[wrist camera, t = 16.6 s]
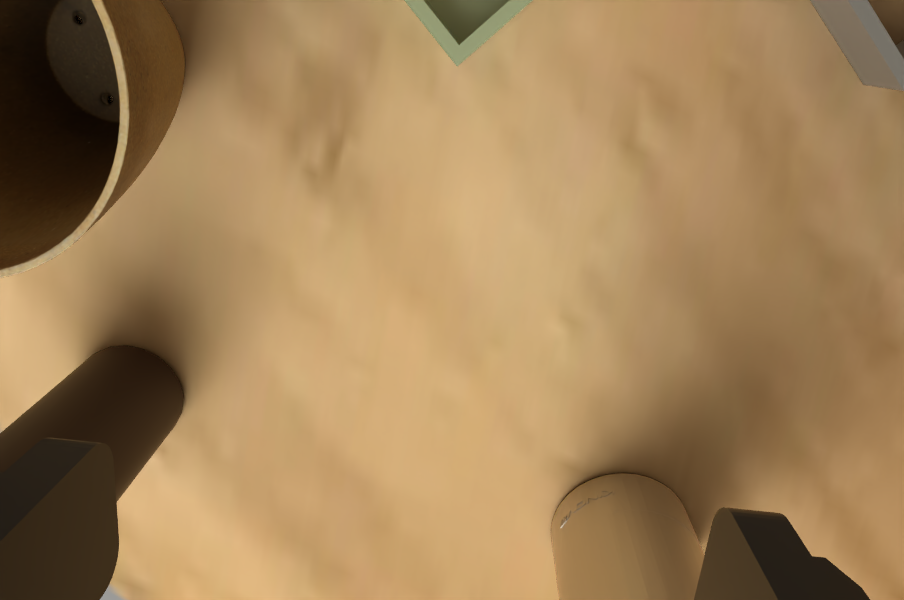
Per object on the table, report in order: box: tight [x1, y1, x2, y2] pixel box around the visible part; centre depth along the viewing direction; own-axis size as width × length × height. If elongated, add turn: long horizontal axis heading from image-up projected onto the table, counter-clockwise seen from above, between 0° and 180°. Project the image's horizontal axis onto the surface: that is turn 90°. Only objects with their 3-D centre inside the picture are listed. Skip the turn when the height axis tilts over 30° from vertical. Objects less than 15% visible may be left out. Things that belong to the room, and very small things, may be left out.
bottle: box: [0, 346, 183, 502], centre depth 38 cm, size 7×7×20 cm
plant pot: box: [0, 0, 185, 278], centre depth 33 cm, size 15×15×16 cm
